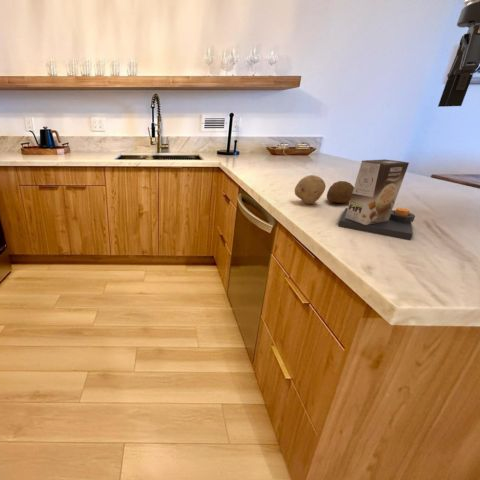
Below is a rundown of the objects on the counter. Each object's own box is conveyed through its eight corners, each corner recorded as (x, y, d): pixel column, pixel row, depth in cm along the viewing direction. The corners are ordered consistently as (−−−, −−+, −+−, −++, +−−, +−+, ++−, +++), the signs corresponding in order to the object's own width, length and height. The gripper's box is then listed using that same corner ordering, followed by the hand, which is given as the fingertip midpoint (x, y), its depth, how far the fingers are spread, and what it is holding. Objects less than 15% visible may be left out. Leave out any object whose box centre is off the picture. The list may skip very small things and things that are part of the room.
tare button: (407, 214, 81) (409, 209, 80) (408, 217, 79) (410, 212, 78) (394, 212, 82) (396, 207, 82) (394, 215, 80) (396, 209, 80)
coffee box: (366, 225, 76) (385, 164, 69) (344, 218, 81) (360, 160, 75) (389, 221, 79) (410, 162, 72) (366, 214, 84) (384, 158, 78)
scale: (410, 224, 82) (414, 212, 81) (412, 241, 72) (417, 228, 70) (344, 213, 91) (347, 202, 90) (337, 226, 81) (341, 214, 79)
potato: (355, 201, 103) (361, 179, 100) (348, 209, 95) (354, 186, 91) (330, 197, 108) (335, 176, 105) (321, 204, 99) (326, 182, 96)
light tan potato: (296, 207, 97) (302, 177, 93) (289, 199, 105) (294, 172, 101) (324, 208, 96) (332, 178, 92) (315, 200, 104) (321, 173, 100)
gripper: (531, -21, 53) (481, 105, 62) (494, 12, 72) (459, 106, 80) (475, -11, 57) (435, 106, 66) (453, 18, 76) (424, 106, 84)
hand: (448, 106), depth 73 cm, fingers open, 13 cm apart
